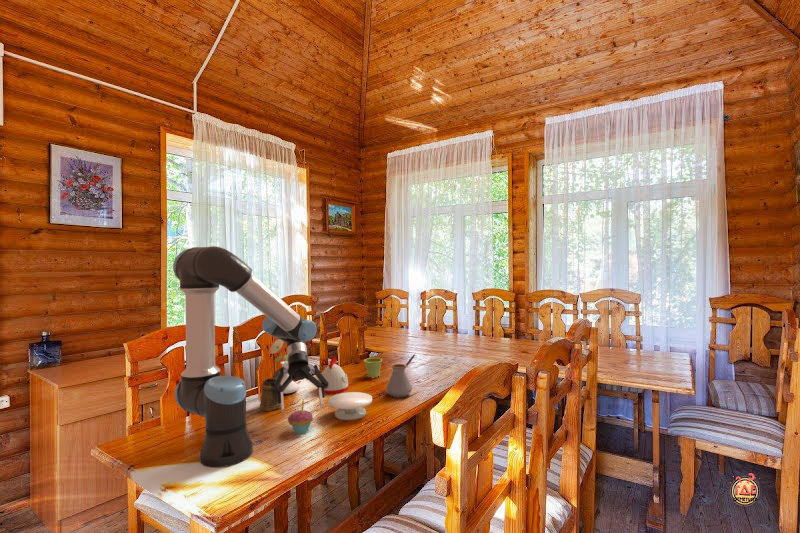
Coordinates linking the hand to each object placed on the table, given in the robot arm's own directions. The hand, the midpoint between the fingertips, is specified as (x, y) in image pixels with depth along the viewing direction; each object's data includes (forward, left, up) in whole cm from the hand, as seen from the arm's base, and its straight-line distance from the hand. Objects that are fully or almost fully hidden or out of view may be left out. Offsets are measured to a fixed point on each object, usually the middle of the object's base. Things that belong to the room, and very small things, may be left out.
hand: (302, 408), depth 147 cm
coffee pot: (+51, -19, -8) cm, 55 cm away
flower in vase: (+33, +33, -8) cm, 47 cm away
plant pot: (+69, +5, -8) cm, 69 cm away
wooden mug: (+14, +24, -8) cm, 28 cm away
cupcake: (-2, 0, -8) cm, 8 cm away
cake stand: (+18, -9, -7) cm, 21 cm away
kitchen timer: (+44, +14, -8) cm, 47 cm away
